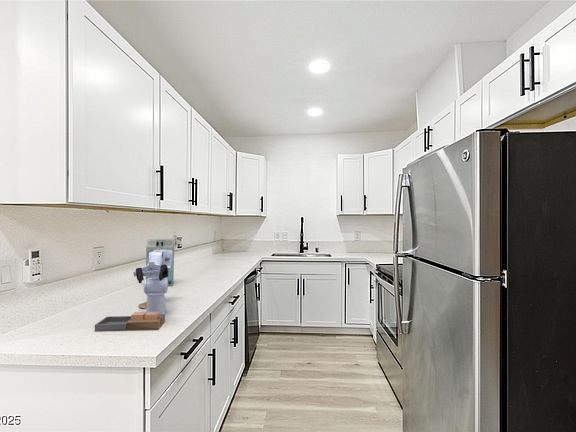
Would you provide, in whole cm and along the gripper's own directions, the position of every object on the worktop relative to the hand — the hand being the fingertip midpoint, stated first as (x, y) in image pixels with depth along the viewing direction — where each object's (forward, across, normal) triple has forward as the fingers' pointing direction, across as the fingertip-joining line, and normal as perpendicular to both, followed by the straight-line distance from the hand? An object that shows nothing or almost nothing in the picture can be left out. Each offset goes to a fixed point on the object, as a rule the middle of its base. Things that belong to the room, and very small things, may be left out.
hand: (149, 279), depth 142 cm
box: (+1, -15, +18) cm, 23 cm away
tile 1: (+1, -6, +15) cm, 17 cm away
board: (+3, -3, +18) cm, 19 cm away
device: (-89, -12, +44) cm, 100 cm away
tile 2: (+2, -1, +16) cm, 16 cm away
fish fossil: (-38, -7, +31) cm, 49 cm away
